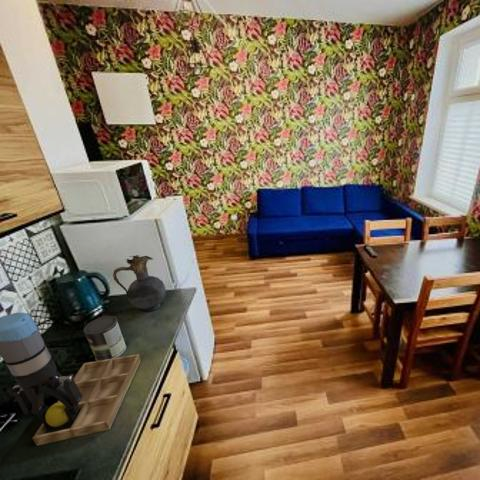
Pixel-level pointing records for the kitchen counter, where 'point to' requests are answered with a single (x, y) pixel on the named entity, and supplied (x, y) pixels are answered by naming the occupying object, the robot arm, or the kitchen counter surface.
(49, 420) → the lemon
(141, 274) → the pitcher
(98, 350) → the coffee can
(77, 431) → the wooden compartment tray
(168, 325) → the kitchen counter surface
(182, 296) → the kitchen counter surface
